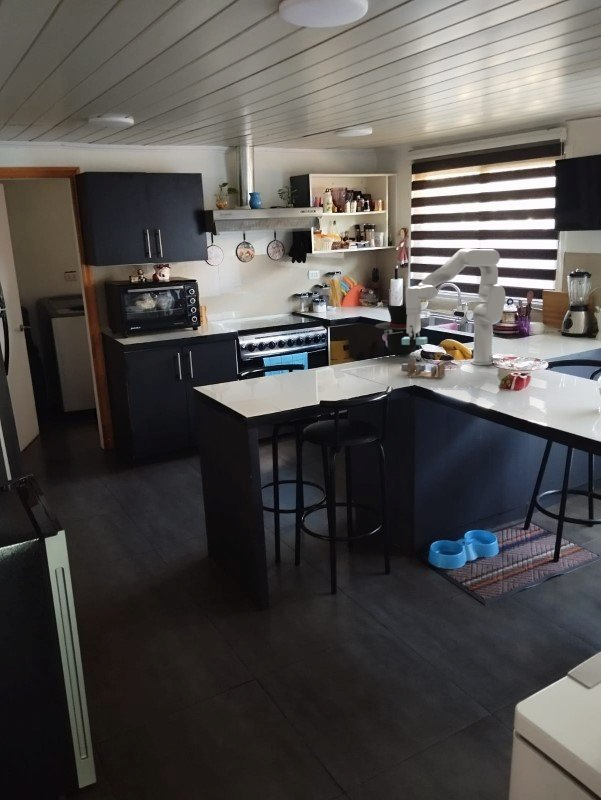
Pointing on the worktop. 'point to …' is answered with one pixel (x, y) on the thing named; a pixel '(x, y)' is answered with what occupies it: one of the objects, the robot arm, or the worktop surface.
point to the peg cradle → (435, 373)
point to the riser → (423, 367)
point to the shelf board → (418, 340)
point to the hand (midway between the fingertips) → (414, 345)
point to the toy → (397, 331)
